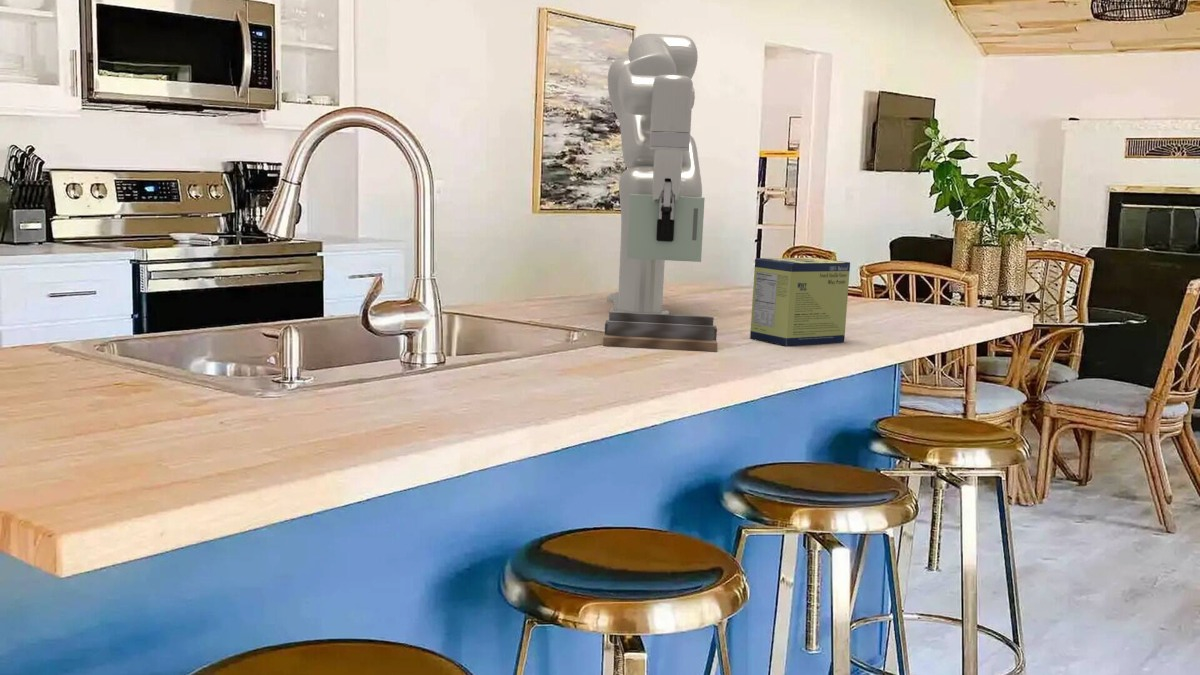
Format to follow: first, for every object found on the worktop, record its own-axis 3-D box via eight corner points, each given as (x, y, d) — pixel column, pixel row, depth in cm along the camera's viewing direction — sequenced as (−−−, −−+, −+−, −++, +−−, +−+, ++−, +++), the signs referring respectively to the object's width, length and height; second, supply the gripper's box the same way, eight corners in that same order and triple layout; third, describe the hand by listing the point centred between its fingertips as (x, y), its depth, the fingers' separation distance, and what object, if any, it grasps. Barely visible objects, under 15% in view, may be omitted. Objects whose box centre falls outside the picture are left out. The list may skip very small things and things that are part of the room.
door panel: (626, 258, 223) (629, 194, 221) (627, 257, 226) (630, 194, 224) (701, 261, 222) (704, 197, 220) (700, 260, 225) (704, 197, 223)
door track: (603, 345, 207) (604, 317, 207) (606, 336, 219) (607, 309, 219) (716, 351, 207) (718, 323, 206) (713, 341, 218) (715, 314, 218)
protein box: (845, 342, 225) (851, 261, 223) (786, 347, 216) (791, 262, 214) (807, 335, 234) (812, 256, 231) (748, 338, 225) (753, 257, 222)
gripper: (650, 142, 229) (645, 237, 232) (649, 140, 213) (644, 242, 215) (688, 144, 229) (683, 238, 231) (690, 142, 212) (685, 244, 215)
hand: (664, 239), depth 223 cm, fingers closed on door panel, 3 cm apart
